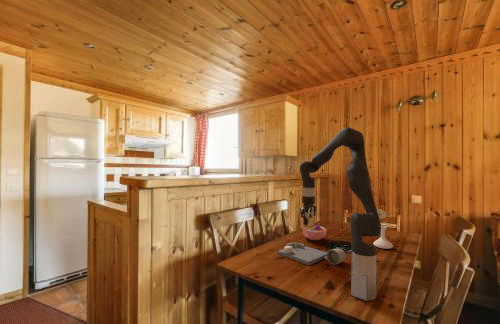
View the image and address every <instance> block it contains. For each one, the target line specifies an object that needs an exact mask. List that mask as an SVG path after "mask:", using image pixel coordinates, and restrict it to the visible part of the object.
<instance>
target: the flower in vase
mask: <svg viewBox="0 0 500 324" xmlns="http://www.w3.org/2000/svg"><path fill="white" fill-rule="evenodd" d="M376 209H377V212H378V215H379V219H386V217H387V216H388V215H387V212H386V211H385V210H383V209H380V208H376ZM387 223H388V221H386V222H382V223H381V222H380V224H381V233H380V237H379V238H378V239H376V240H375V241H373V244H372V245H373V246H375V248H376V247H377V248H380V249H384V250H387V249H388V250H389V249H393V247H394V245H393V244H392V243H391V242H390V241H389V240H388V239H387V237H386V230H387V228H388V226H385V224H387Z"/></svg>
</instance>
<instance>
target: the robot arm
mask: <svg viewBox="0 0 500 324" xmlns="http://www.w3.org/2000/svg"><path fill="white" fill-rule="evenodd" d="M342 146H343V147H345V148H348V149H349V150H350V155H351V160H350V163H349V164H348V166H347V170H346V177H347V184H348V185H347V186H348V187H349V189H350V191H351V192H352V193H353V194H354V195H355V196H356V197H357V199H358V200H359V201H360V202H361V204H362V205H363V208H364V210H365V213H361V212H357V213H356V212H355V213H352V214H351V215H350V220H349V226H350V243H351V244H350V245H351V262H350V263H351V264H350V265H351V267H350V268H351V271H350V272H351V274H350V276H351V277H350V278H351V279H350V280H351V283H350V284H351V285H350V286H351V287H350V288H351V289H350V295H351V296H353V297H355V298H357V299H359V300H362V301H365V302H368V301H373V300H375V299H377V248H376V246H375V245H374V244H370V243H369V242H366V241H364V240H363V237H370V238H371V237H372V238H373V237H379V236H381V225H382V223H381V220H380V219H381V218H379V215H378V212H377V209H378V208H377V207H376V202H375V199H374V194H373V189H372V183H371V177H370V172H369V169H368V163H367V157H366V147H365V139H364V134H363V133H362V132H361V131H360V130H357V129H354V128H352V127H349V126H347V127H343V128H342V129H340V130H339V131H338V132H337V134H336V135H335V136H334V137H332V139H331V140H330V141H329V142H328V143H327V144H326V145H325V146H324V147H323V148H322V149H321V150H320V151H318V152H317V153H316V154H315V155H313V156H312V158H311V161H307V160H304V161H302V162H300V165H299V172H300V176H301V181H302V188H301V203H302V207H299V213H300V218H301V219H302V220H303V219H304V222H303V221H302V224H303V223H304V225H307V218H308V216H310V217H314V218H315V216H316V213H317V208H318V207H317V205H315V203H316V187H315V186H316V185H315V184H316V181H315V180H316V179H315V177H312V176H311V175H310V174H314V173H316V172H318V171H319V170H320V169H321V167H322V166H324V165H325V164H326V163H328V162H329V161H330V160H331V159H332V158H333V156H334V152H335V151H336V150H337V149H338V148H341V147H342ZM380 223H381V224H380Z"/></svg>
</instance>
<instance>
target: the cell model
mask: <svg viewBox="0 0 500 324" xmlns="http://www.w3.org/2000/svg"><path fill="white" fill-rule="evenodd" d="M314 226H315V229H313V230H306V229H302V235H303V236H304V237H306V238H307V239H309V240H310V241H320V240H321V239H323V238H324V237H325V236H326V235H327V228H326V227H324V226H321V225H318V224H317V223H316V222H314Z"/></svg>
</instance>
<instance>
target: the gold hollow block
mask: <svg viewBox="0 0 500 324" xmlns="http://www.w3.org/2000/svg"><path fill="white" fill-rule="evenodd" d="M303 222H304V219H303V218H302V224H301V229H302V230H303V229H306V230H313V229H315V226H314V223H315V216H314V217H310V216H309V215H308V218H307V225H304V223H303Z"/></svg>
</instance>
